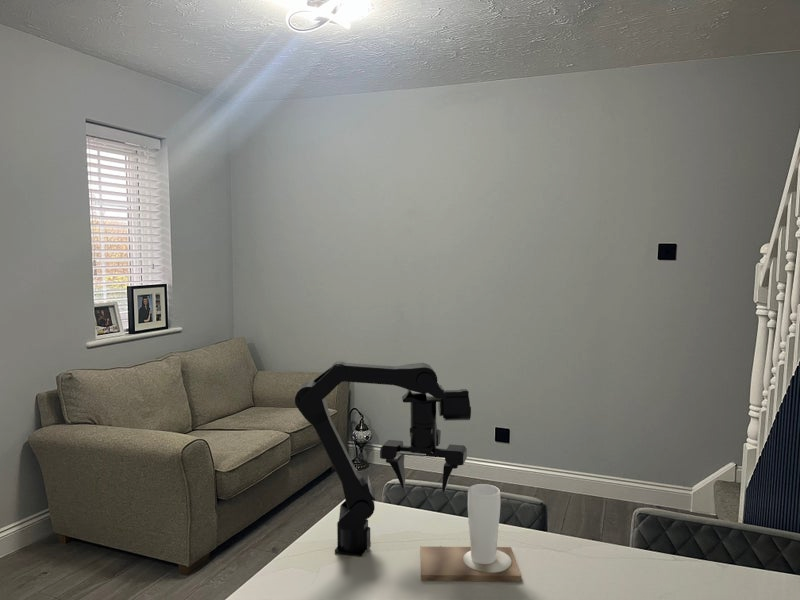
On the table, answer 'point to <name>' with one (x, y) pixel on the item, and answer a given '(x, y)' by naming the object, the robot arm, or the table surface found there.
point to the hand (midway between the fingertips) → (423, 489)
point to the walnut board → (466, 565)
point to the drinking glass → (483, 522)
